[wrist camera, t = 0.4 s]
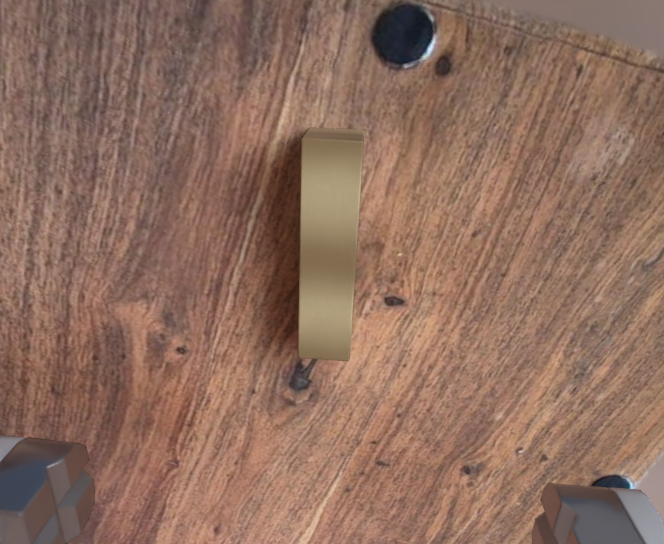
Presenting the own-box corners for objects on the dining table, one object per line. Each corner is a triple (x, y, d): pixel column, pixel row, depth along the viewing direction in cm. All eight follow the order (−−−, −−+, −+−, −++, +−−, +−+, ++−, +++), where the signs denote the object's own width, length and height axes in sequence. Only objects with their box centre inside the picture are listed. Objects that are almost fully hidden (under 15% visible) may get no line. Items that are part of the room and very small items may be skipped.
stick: (309, 126, 22) (301, 137, 20) (365, 129, 22) (363, 141, 19) (304, 327, 26) (297, 358, 24) (351, 331, 26) (349, 362, 23)
